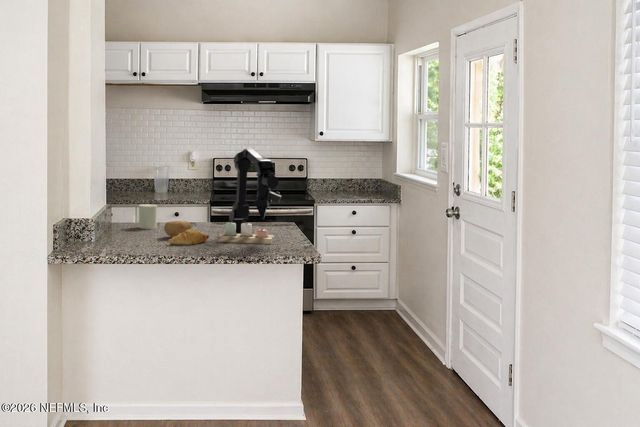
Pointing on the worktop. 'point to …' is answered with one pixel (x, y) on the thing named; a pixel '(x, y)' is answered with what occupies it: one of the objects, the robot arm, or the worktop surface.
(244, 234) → the key two
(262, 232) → the key three
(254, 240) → the board
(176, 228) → the potato
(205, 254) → the worktop surface
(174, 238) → the croissant
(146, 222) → the can
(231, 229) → the key one
